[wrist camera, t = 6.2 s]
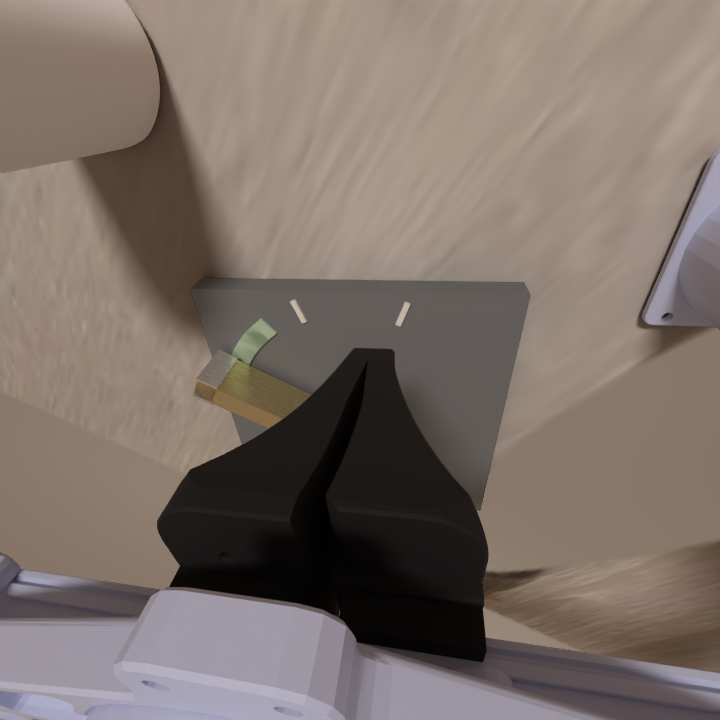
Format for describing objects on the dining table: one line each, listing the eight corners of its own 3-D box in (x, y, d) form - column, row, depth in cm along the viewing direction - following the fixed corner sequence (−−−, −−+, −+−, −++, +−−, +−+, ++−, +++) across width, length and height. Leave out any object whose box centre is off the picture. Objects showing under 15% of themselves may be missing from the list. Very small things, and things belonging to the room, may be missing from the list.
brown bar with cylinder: (225, 331, 22) (199, 362, 19) (403, 416, 23) (399, 453, 21) (209, 381, 24) (185, 414, 22) (370, 454, 26) (365, 491, 24)
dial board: (524, 282, 20) (531, 296, 18) (478, 493, 30) (480, 512, 29) (202, 278, 22) (188, 290, 21) (263, 473, 33) (256, 490, 31)
